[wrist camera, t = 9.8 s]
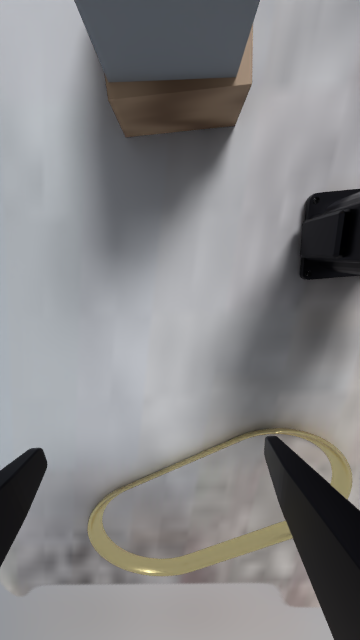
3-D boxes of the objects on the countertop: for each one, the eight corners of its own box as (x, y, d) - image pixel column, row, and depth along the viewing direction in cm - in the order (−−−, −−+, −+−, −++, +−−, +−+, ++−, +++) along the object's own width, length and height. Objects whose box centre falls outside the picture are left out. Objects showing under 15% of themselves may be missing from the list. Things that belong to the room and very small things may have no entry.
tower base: (233, -32, 13) (256, -157, 9) (234, 127, 15) (251, 83, 11) (106, -15, 13) (74, -130, 9) (126, 139, 15) (108, 99, 11)
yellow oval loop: (64, 504, 28) (57, 518, 26) (311, 394, 22) (321, 404, 21) (141, 573, 32) (139, 589, 31) (361, 498, 27) (371, 512, 25)
